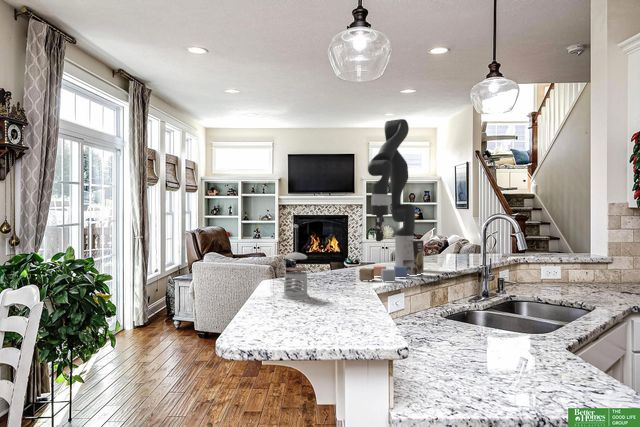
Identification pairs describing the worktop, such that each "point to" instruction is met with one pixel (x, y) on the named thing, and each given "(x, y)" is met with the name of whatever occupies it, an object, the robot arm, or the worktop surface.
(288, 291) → the french press
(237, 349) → the worktop surface
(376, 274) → the terracotta block
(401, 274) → the navy block
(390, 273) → the slate block
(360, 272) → the walnut block
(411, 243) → the coffee box
